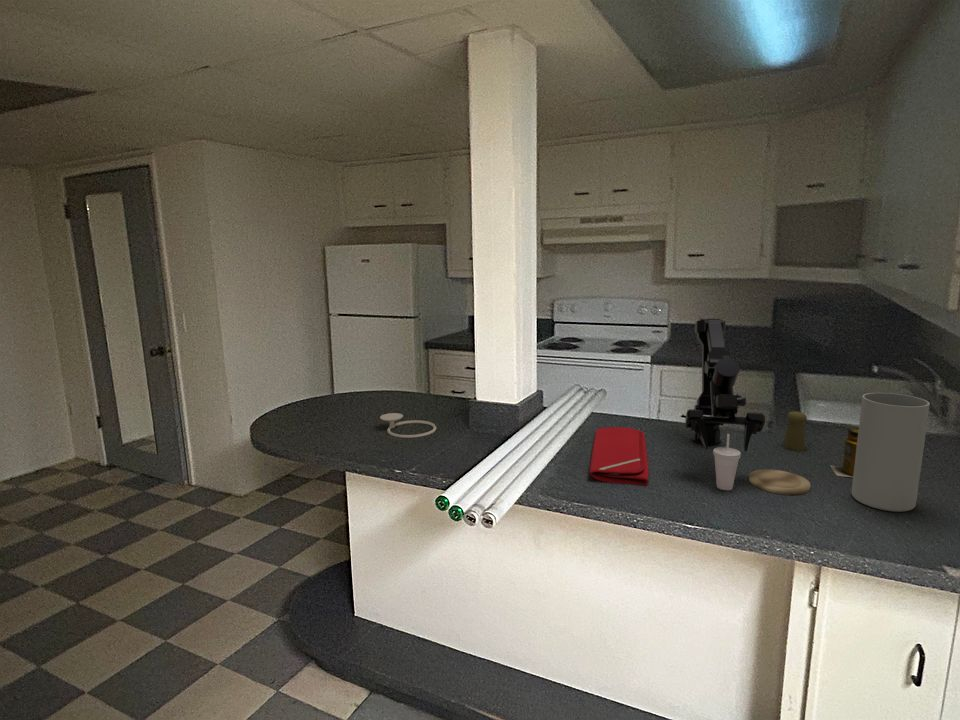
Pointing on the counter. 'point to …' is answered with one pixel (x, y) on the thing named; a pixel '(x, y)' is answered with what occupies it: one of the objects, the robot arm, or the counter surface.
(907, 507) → the cylinder vase
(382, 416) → the hand towel holder
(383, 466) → the counter surface
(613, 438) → the dish drying mat
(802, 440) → the cork
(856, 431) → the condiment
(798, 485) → the plate
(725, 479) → the smoothie
